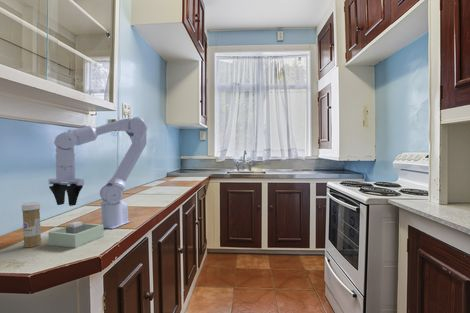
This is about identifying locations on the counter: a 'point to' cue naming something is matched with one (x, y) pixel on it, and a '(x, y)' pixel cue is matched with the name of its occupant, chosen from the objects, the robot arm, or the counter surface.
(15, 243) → the counter surface
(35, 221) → the sprinkles bottle
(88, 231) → the green box
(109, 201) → the robot arm
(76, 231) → the grey plug
